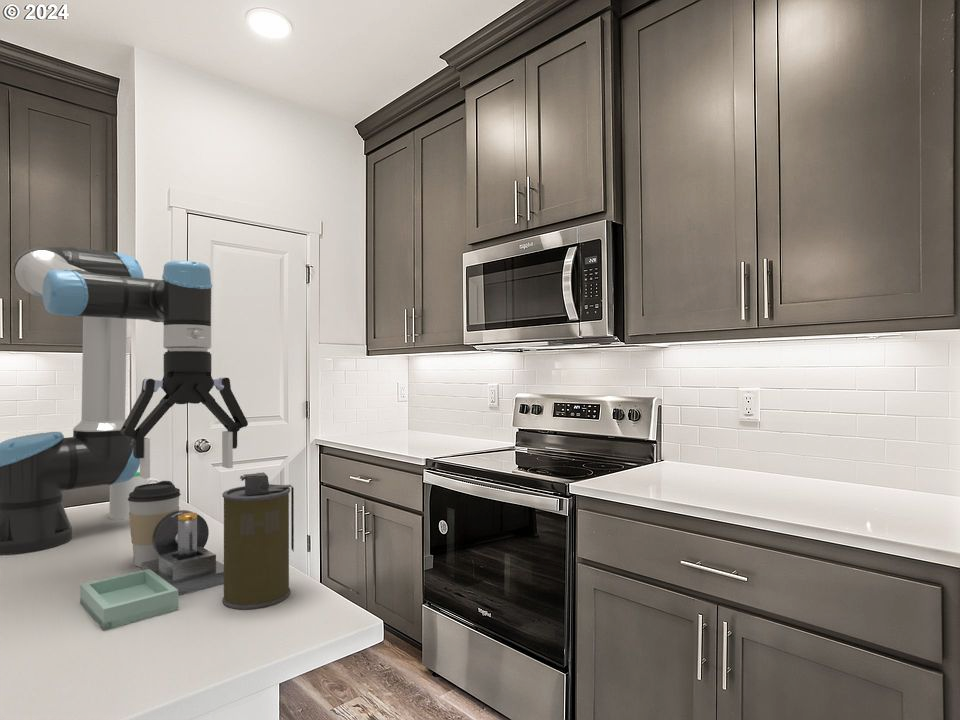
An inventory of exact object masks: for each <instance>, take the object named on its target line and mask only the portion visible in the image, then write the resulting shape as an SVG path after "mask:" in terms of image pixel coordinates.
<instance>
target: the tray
mask: <svg viewBox="0 0 960 720" xmlns="http://www.w3.org/2000/svg"><path fill="white" fill-rule="evenodd" d="M79 586H80V591H79V593H80V596H79V597H80V598H79V599H80V602H79V604H81V606H82V607H83V608H84V609H85V611H86V612H87V613H88V614H89V615H90V617H91V618H92V619H93V621H95V622H96V623H97V625H99V627H100V628H101V629H102V630H103V631H106V630H109V629H113V628H117V627H121V626H124V625H128V624H131V623H135V622H139V621H142V620H145V619H149V618H153V617H156V616H160V615H163V614H168V613H171V612H174V611H178V610H179V595H178V590H177V589H176V588H175V587H173V586H172V585H171V584H169V583H168V582H167V581H165V580H164V579H162V578H161V577H160V576H158V575H157V574H156V573H154V572H153V571H152V570H150V569H146V570H142V571H141V570H137V571H133V572H130V573H125V574H121V575H116V576H112V577H107V578H104V579H98V580H94V581H90V582H86V583H81V584H80V585H79Z"/></svg>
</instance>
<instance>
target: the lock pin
mask: <svg viewBox="0 0 960 720" xmlns="http://www.w3.org/2000/svg"><path fill="white" fill-rule="evenodd" d="M193 512H194V511H191V512H190V513H183V514H179V515H178V560H183V559H188V558H192V557H197V514H198V513H197V512H194V513H193Z"/></svg>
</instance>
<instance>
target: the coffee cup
mask: <svg viewBox="0 0 960 720" xmlns="http://www.w3.org/2000/svg"><path fill="white" fill-rule="evenodd" d="M159 481H160V482H158V483H157V482H155V483H154V482H153V483H152V482H151V483H148V484H145V485H140V486H137V487H135V489H134V491H133V492H131V493H130V494H129V498H128V501H129V506H130V512H129V518H130V519H129V527H130V538H131V544H132V551H133V563H134V567H135V566H136V567H139V568H141V563H142V562H147V561H151V560H156V559H159V554H158V553H157V552H156V551H155V549H154V547H153V543H152V537H153V533H154V530H155V528H156V526H157V524H158V523H159V522H160V521H161V520H162V519H163V518H164V517H165V516H167V515H168V514H170V513H172V512H175V511H179V510H180V505H179V504H180V496H181V495H182V494H181V490H180V488H178V487H176V486H175V485H174V483H173V482H172V481H170V480H159Z"/></svg>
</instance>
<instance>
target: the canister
mask: <svg viewBox="0 0 960 720" xmlns="http://www.w3.org/2000/svg"><path fill="white" fill-rule="evenodd" d="M239 479H240V481H241V482H243V481H244V486H243V485H242V486H238V487H233V488H229V489H227V490H225V491H223V493H221V494H222V495H221V496H222V498H223V564H224V584H223V597H222V603H223V605H225V606H226V607H228V608H230V609H236V610H253V609H254V610H256V609H261V608H266V607H270V606H273V605H275V604H278V603H280V602H283V601H284V600H285V599H287V598H288V597H289V596H290V595H291V588H290V548H291V550H292V552H294V547H295V546H294V541H295V540H294V538H295V537H294V533H295V531H294V530H295V529H294V528H295V527H294V526H295V524H294V523H295V522H294V518H295V517H294V516H295V515H294V514H295V513H294V510H295V509H294V503H295V502H294V501H295V500H294V499H295V495H294V494H295V492H294V489H295V488H294V486H292V485H291V484H284V485H283V484H270V481H269V476H268V475H267V474H266V473H265V472H256V473H251V474H250V473H247V474H243V475H240V477H239ZM290 493H291V494H290ZM290 497H291V500H290ZM290 501H291V502H290ZM290 503H291V504H290ZM290 505H291V506H290ZM290 509H291V512H289V511H290ZM290 515H291V516H290ZM290 517H291V520H290ZM290 521H291V522H290ZM290 523H291V524H290ZM290 525H291V529H290ZM290 531H291V533H290ZM290 534H291V535H290ZM290 536H291V537H290ZM290 538H291V541H290ZM290 542H291V543H290Z"/></svg>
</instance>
